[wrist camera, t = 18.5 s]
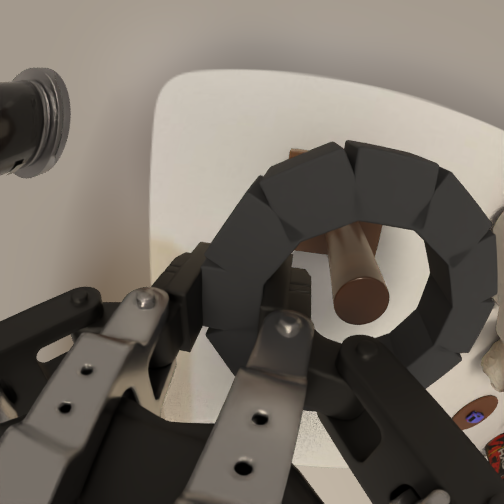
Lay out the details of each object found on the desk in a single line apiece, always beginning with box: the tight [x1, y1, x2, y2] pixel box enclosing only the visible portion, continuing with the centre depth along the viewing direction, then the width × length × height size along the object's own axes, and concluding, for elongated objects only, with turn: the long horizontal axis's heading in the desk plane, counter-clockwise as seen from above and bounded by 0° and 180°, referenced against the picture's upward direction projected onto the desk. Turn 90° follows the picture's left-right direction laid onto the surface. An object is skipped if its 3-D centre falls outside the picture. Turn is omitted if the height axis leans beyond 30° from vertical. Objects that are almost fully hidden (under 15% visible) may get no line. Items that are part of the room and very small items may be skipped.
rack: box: [289, 149, 389, 325], centre depth 15 cm, size 7×7×12 cm
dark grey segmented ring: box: [201, 140, 498, 412], centre depth 10 cm, size 10×10×2 cm
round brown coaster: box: [452, 395, 498, 430], centre depth 28 cm, size 8×8×2 cm
